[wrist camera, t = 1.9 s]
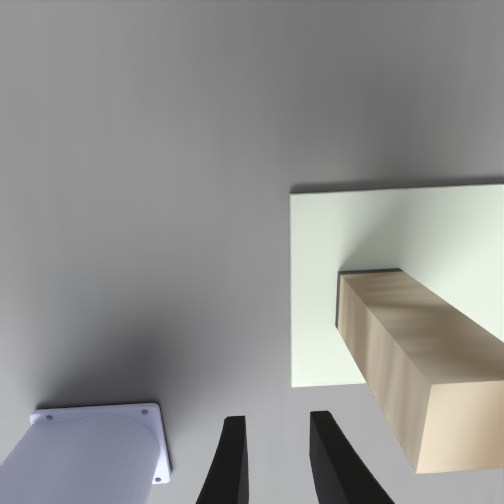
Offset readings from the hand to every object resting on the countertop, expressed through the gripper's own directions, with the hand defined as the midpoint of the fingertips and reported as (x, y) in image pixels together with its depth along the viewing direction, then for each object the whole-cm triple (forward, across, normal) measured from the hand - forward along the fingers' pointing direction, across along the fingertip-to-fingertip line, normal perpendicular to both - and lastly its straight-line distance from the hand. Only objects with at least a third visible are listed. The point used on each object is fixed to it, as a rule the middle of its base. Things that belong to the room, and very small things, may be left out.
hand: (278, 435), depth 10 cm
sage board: (+10, -10, 0) cm, 14 cm away
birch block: (+10, -7, 0) cm, 12 cm away
